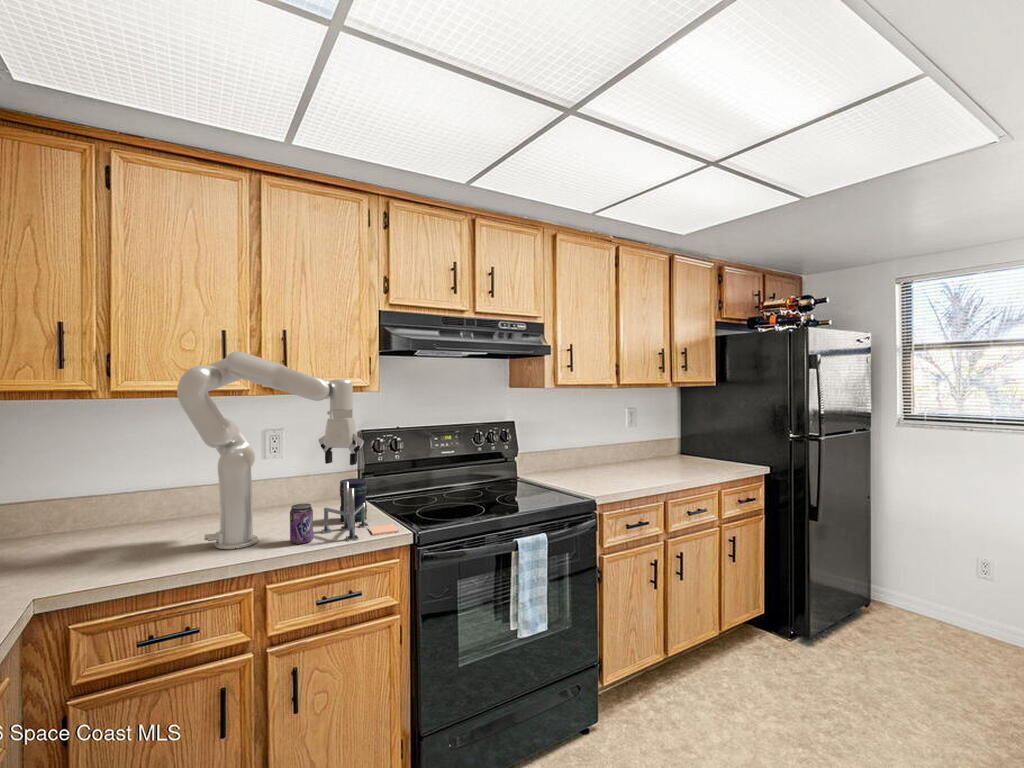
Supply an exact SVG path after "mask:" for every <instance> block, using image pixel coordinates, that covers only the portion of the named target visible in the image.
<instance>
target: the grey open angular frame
mask: <svg viewBox="0 0 1024 768" xmlns="http://www.w3.org/2000/svg"><path fill="white" fill-rule="evenodd" d="M360 510H361V522H360V523H358V527H359V526H360V527H362V528H365V527H364V526H368V527H369V524H368V522H366V520H365V503H361V505H360V506H358V507H357V508H356V509H355V506H354V488H349V481H345V482H344V512H343V511H340V509H339V510H338V509H333V508H330V507H324V508H323V521H324V522H323V524H324V525H323V526H324V527H323V529H321V534H322V533H323V534H328V532H331V533H332V529H331V528H329V513H333V514H337V515H344V523H343V526H340V529H341V531H342V530H346V531H348V536H345V539H347V540H346V542H350V541H349V540H353V541H357V540H356V539H358V540H359V536H358V535H356V534H355V533H356V529H355V527H356V525H355V524H356V523H355V514H356V513H357V512H358V511H360ZM360 527H359V528H360Z"/></svg>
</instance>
